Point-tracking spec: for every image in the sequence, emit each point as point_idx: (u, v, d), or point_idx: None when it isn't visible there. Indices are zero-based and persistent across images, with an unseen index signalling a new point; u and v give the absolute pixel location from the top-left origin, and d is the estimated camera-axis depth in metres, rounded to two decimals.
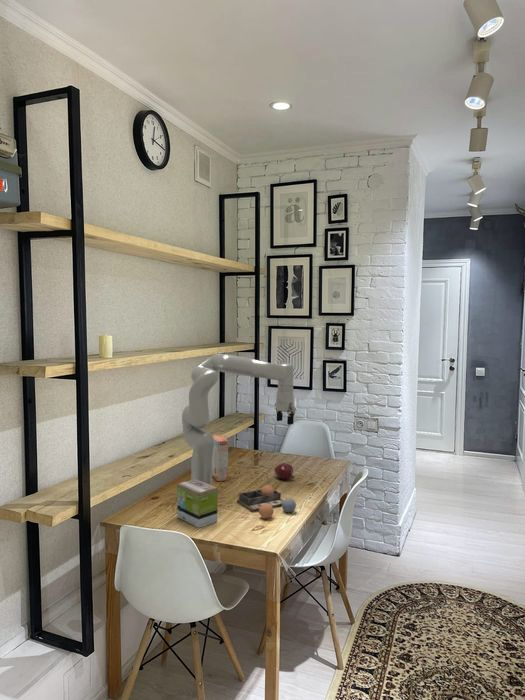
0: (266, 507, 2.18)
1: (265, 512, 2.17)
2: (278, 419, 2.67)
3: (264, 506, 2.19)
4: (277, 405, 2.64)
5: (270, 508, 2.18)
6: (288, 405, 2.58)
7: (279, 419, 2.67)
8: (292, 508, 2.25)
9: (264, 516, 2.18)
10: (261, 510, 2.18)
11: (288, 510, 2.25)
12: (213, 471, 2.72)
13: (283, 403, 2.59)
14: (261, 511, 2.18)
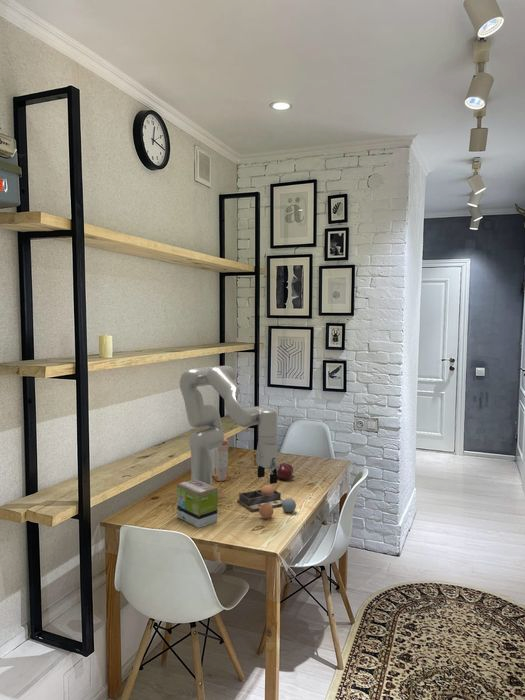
0: (266, 507, 2.18)
1: (265, 512, 2.17)
2: (259, 475, 2.23)
3: (264, 506, 2.19)
4: (258, 459, 2.20)
5: (270, 508, 2.18)
6: (270, 461, 2.14)
7: (261, 475, 2.23)
8: (292, 508, 2.25)
9: (264, 516, 2.18)
10: (261, 510, 2.18)
11: (288, 510, 2.25)
12: (213, 471, 2.72)
13: (265, 458, 2.15)
14: (261, 511, 2.18)
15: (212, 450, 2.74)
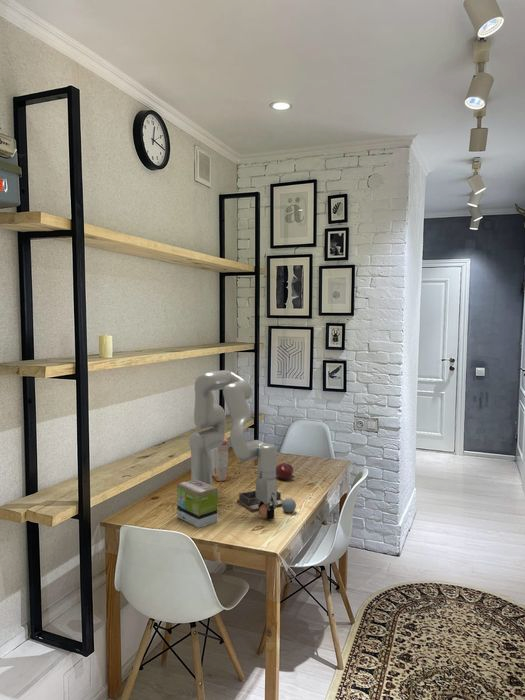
0: (266, 507, 2.18)
1: (265, 512, 2.17)
2: None
3: (264, 506, 2.19)
4: (257, 493, 2.21)
5: None
6: (270, 496, 2.15)
7: None
8: (292, 508, 2.25)
9: (264, 516, 2.18)
10: (261, 510, 2.18)
11: (288, 510, 2.25)
12: (213, 471, 2.72)
13: (264, 493, 2.16)
14: (261, 511, 2.18)
15: (212, 450, 2.74)
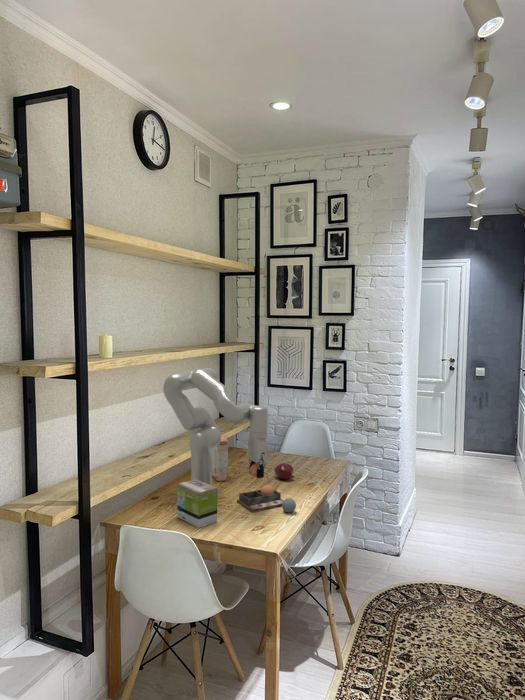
0: (256, 466, 2.27)
1: (255, 471, 2.27)
2: None
3: (254, 465, 2.28)
4: (248, 453, 2.30)
5: None
6: (260, 455, 2.24)
7: None
8: (292, 508, 2.25)
9: (254, 475, 2.27)
10: (251, 469, 2.28)
11: (288, 510, 2.25)
12: (213, 471, 2.72)
13: (254, 452, 2.25)
14: (251, 470, 2.27)
15: (212, 450, 2.74)
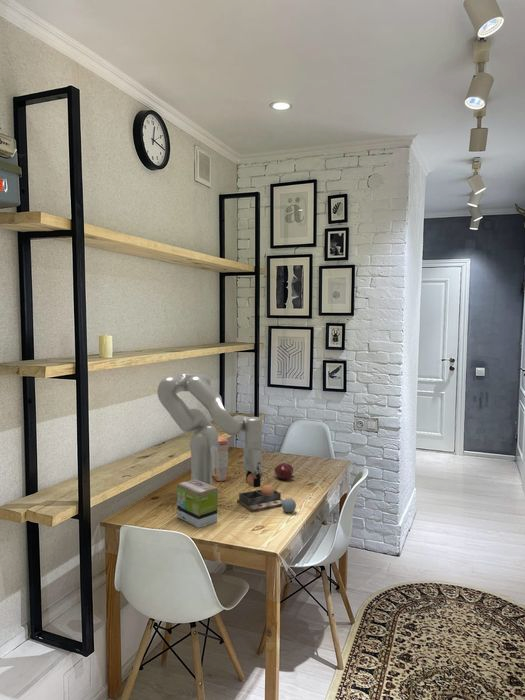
0: (252, 476, 2.34)
1: (252, 480, 2.33)
2: None
3: (251, 475, 2.34)
4: (244, 463, 2.36)
5: None
6: (256, 465, 2.30)
7: None
8: (292, 508, 2.25)
9: (251, 484, 2.33)
10: (248, 479, 2.34)
11: (288, 510, 2.25)
12: (213, 471, 2.72)
13: (250, 462, 2.31)
14: (248, 479, 2.34)
15: (212, 450, 2.74)
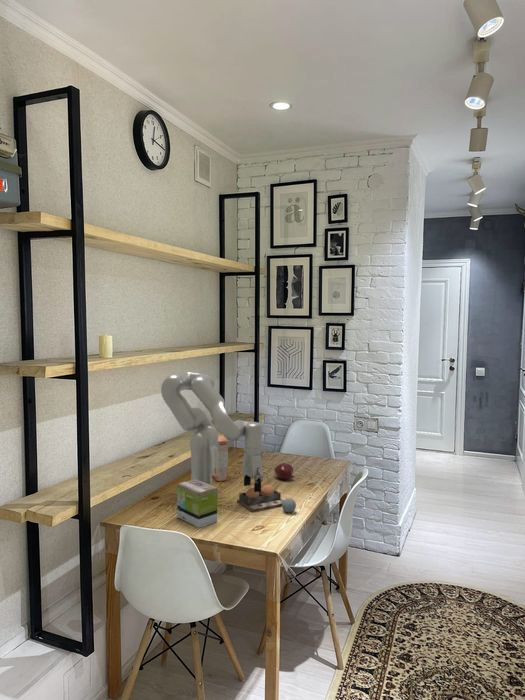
0: (252, 491, 2.34)
1: (251, 495, 2.33)
2: (246, 484, 2.39)
3: (250, 490, 2.35)
4: (244, 468, 2.36)
5: (256, 492, 2.34)
6: (255, 470, 2.30)
7: (247, 484, 2.39)
8: (292, 508, 2.25)
9: None
10: (247, 494, 2.34)
11: (288, 510, 2.25)
12: (213, 471, 2.72)
13: (250, 467, 2.32)
14: (247, 494, 2.34)
15: (212, 450, 2.74)
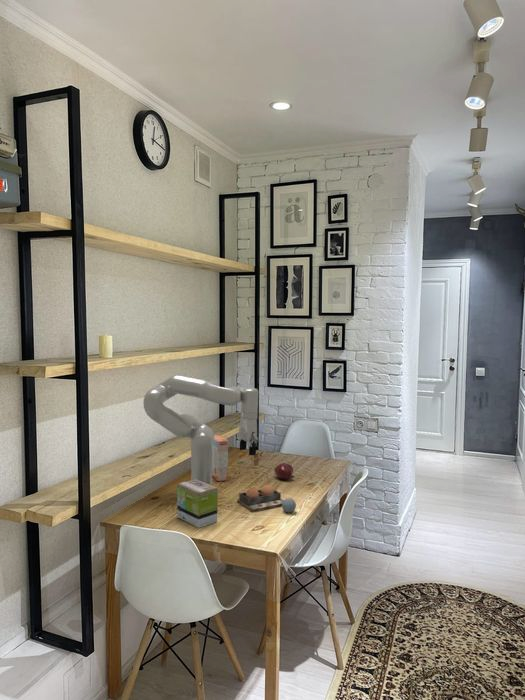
0: (252, 491, 2.34)
1: (251, 496, 2.33)
2: (241, 448, 2.44)
3: (250, 490, 2.34)
4: (240, 433, 2.41)
5: (256, 492, 2.34)
6: (250, 434, 2.35)
7: (242, 448, 2.44)
8: (292, 508, 2.25)
9: None
10: (247, 494, 2.34)
11: (288, 510, 2.25)
12: (213, 471, 2.72)
13: (245, 431, 2.36)
14: (247, 494, 2.34)
15: (212, 450, 2.74)
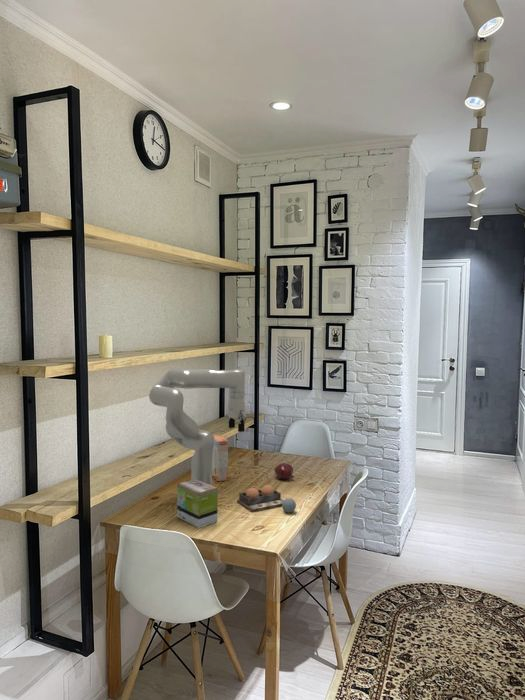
0: (252, 491, 2.34)
1: (251, 496, 2.33)
2: (230, 426, 2.62)
3: (250, 490, 2.34)
4: (229, 412, 2.59)
5: (256, 492, 2.34)
6: (239, 412, 2.53)
7: (231, 426, 2.62)
8: (292, 508, 2.25)
9: None
10: (248, 494, 2.34)
11: (288, 510, 2.25)
12: (213, 471, 2.72)
13: (234, 410, 2.54)
14: (247, 494, 2.34)
15: None
